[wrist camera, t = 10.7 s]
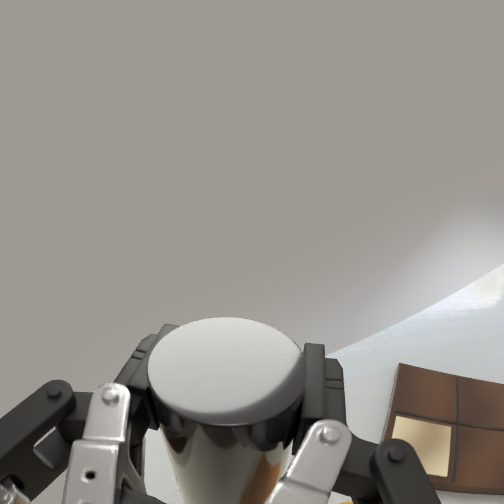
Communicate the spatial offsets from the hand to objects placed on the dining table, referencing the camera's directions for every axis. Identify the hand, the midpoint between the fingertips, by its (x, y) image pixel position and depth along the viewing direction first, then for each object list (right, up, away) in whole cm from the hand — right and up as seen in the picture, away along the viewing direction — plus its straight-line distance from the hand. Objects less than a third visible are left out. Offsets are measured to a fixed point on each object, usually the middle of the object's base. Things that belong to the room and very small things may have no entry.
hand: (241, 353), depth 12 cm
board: (+22, -15, +13) cm, 29 cm away
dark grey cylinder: (-1, -7, 0) cm, 7 cm away
